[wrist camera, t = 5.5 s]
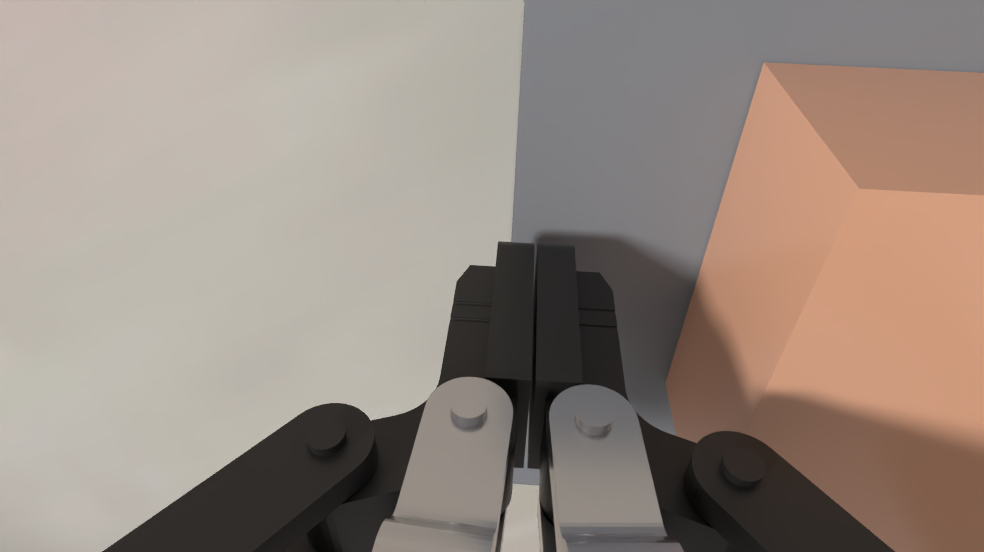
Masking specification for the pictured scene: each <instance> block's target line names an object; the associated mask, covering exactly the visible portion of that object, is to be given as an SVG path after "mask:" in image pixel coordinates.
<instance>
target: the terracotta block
mask: <svg viewBox="0 0 984 552" xmlns="http://www.w3.org/2000/svg"><path fill="white" fill-rule="evenodd" d="M665 383H666V388H667V393H668V399H669V404H670V409H671V414H672V419H673V424H674V429H675V434H676V436H678V437H681V438H684V439H687V440H689V441H692V442H695V443H698V441H699V440H701V439H702V438H703V437H704V436H706V435H708V434H711V433H714V432H719V431H734V432H740V433H743V434H747V435H750V436H752V437H754V438H756V439H758V440H760V441H762V442H763V443H765V444H766V445H768V446H769V447H770V448H772V449H773V450H774V451H775V452H776V453H778V454H779V455H780V456H781V457H782V458H784V459H785V460H786V461H787V462H788V463H789V464H791V465H792V466H793V467H794V468H795V469H797V470H798V471H799V472H800V473H801V474H803V475H804V476H805V477H806V478H807V479H809V480H810V481H811V482H812V483H813V484H815V485H816V486H817V487H818V488H819V489H821V490H822V491H823V492H824V493H825V494H827V495H828V496H829V497H830V498H831V499H833V500H834V501H835V502H836V503H837V504H839V505H840V506H841V507H842V508H843V509H845V510H846V511H847V512H848V513H849V514H851V515H852V516H853V517H854V518H855V519H857V520H858V521H859V522H860V523H861V524H863V525H864V526H865V527H866V528H867V529H869V530H870V531H871V532H872V533H873V534H875V535H876V536H877V537H878V538H879V539H881V540H882V541H883V542H884V543H885V544H887V545H888V546H889V547H890V548H891V549H893V550H894V551H895V552H984V73H978V72H957V71H936V70H915V69H894V68H873V67H851V66H830V65H809V64H788V63H767V62H764V63H763V66H762V69H761V73H760V76H759V79H758V82H757V86H756V89H755V92H754V95H753V99H752V102H751V105H750V108H749V112H748V115H747V118H746V121H745V125H744V128H743V131H742V135H741V138H740V141H739V144H738V148H737V151H736V154H735V157H734V161H733V164H732V167H731V170H730V174H729V177H728V180H727V183H726V187H725V190H724V193H723V196H722V200H721V203H720V206H719V210H718V213H717V216H716V219H715V223H714V226H713V229H712V232H711V236H710V239H709V242H708V245H707V249H706V252H705V255H704V258H703V262H702V265H701V268H700V271H699V275H698V278H697V281H696V285H695V288H694V291H693V294H692V298H691V301H690V304H689V307H688V311H687V314H686V317H685V320H684V324H683V327H682V330H681V333H680V337H679V340H678V343H677V346H676V350H675V353H674V356H673V360H672V363H671V366H670V369H669V373H668V376H667V379H666V382H665Z"/></svg>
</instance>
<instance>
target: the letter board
mask: <svg viewBox="0 0 984 552" xmlns="http://www.w3.org/2000/svg"><path fill="white" fill-rule="evenodd" d="M764 62H767V63H788V64H809V65H830V66H851V67H873V68H894V69H915V70H936V71H957V72H978V73H984V0H525V7H524V25H523V43H522V61H521V79H520V97H519V115H518V133H517V151H516V169H515V187H514V205H513V223H512V241H511V242H518V243H535V250H534V279H535V266H536V254H537V244H538V243H539V244H557V245H574V247H575V260H576V271H583V272H600V274H601V275H602V276H603V278H604V279H605V280H606V282H607V283H608V285H609V286H610V287H611V289H612V290H613V296H614V304H615V314H616V319H617V331H618V335H619V343H620V350H621V358H622V366H623V373H624V381H625V389H626V394H627V397H628V399H629V402H630V404H631V405H632V406H633V408H634V410H635V411H636V412H637V413H638V414H639V415H640V416H641V417H642V418H643V419H644V420H645V421H647V422H648V423H649V424H651V425H652V426H654V427H656V428H658V429H660V430H662V431H664V432H667V433H669V434H672V435H675V436H676V434H675V429H674V424H673V419H672V414H671V409H670V404H669V399H668V393H667V388H666V383H665V382H666V379H667V376H668V373H669V369H670V366H671V363H672V360H673V356H674V353H675V350H676V346H677V343H678V340H679V337H680V333H681V330H682V327H683V324H684V320H685V317H686V314H687V311H688V307H689V304H690V301H691V298H692V294H693V291H694V288H695V285H696V281H697V278H698V275H699V271H700V268H701V265H702V262H703V258H704V255H705V252H706V249H707V245H708V242H709V239H710V236H711V232H712V229H713V226H714V223H715V219H716V216H717V213H718V210H719V206H720V203H721V200H722V196H723V193H724V190H725V187H726V183H727V180H728V177H729V174H730V170H731V167H732V164H733V161H734V157H735V154H736V151H737V148H738V144H739V141H740V138H741V135H742V131H743V128H744V125H745V121H746V118H747V115H748V112H749V108H750V105H751V102H752V99H753V95H754V92H755V89H756V86H757V82H758V79H759V76H760V73H761V69H762V66H763V63H764ZM528 424H529V413H528ZM528 424H527V435H526V446H525V457H524V468H514V470H513V484H527V485H539V484H540V469H530V468H527V462H528Z"/></svg>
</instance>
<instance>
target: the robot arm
mask: <svg viewBox="0 0 984 552" xmlns="http://www.w3.org/2000/svg"><path fill="white" fill-rule="evenodd" d="M534 250H535V243H518V242H500V241H499V242H498V249H497V259H496V267H493V266H475V265H470V266H469V268H468V269H467V270H466V271H465V272H464V274H463V275H462V276H461V277H460V278H459V280H458V281H457V284H456V290H455V295H454V302H453V307H452V312H451V320H450V324H449V329H448V335H447V341H446V346H445V352H444V358H443V364H442V369H441V375H440V380H439V383H438V386H437V388H436V389H435V390H434V391H433V392H432V393H431V395H430V396H429V398H428V399H427V400H426V401H425V402H424V403H423V404H421V405H420V406H418V407H417V408H415V409H413V410H411V411H408V412H406V413H403V414H399V415H395V416H390V417H386V418H381V419H376V420H372V421H370V419H369V417H368V416H367V415H366V414H365V413H364V412H362V411H361V410H360V409H358V408H356V407H354V406H351V405H347V404H341V403H329V404H323V405H319V406H316V407H313V408H311V409H308V410H306V411H305V412H303V413H301V414H300V415H298V416H297V417H295V418H294V419H293V420H291V421H290V422H288V423H287V424H285V425H284V426H282V427H281V428H280V429H278V430H277V431H275V432H274V433H272V434H271V435H270V436H268V437H267V438H265V439H264V440H262V441H261V442H259V443H258V444H257V445H255V446H254V447H252V448H251V449H249V450H248V451H247V452H245V453H244V454H242V455H241V456H239V457H238V458H236V459H235V460H234V461H232V462H231V463H229V464H228V465H226V466H225V467H224V468H222V469H221V470H219V471H218V472H216V473H215V474H213V475H212V476H211V477H209V478H208V479H206V480H205V481H203V482H202V483H200V484H199V485H198V486H196V487H195V488H193V489H192V490H190V491H189V492H188V493H186V494H185V495H183V496H182V497H180V498H179V499H177V500H176V501H175V502H173V503H172V504H170V505H169V506H167V507H166V508H165V509H163V510H162V511H160V512H159V513H157V514H156V515H154V516H153V517H152V518H150V519H149V520H147V521H146V522H144V523H143V524H142V525H140V526H139V527H137V528H136V529H134V530H133V531H131V532H130V533H129V534H127V535H126V536H124V537H123V538H121V539H120V540H119V541H117V542H116V543H114V544H113V545H111V546H110V547H108V548H107V549H106V550H104V551H103V552H501V550H502V543H503V535H504V528H505V520H506V513H507V507H508V505H509V503H510V500H511V495H512V484H513V470H514V468H524V457H525V446H526V435H527V424H528V413H529V424H528V462H527V468H530V469H540V484H539V499H538V508H537V516H538V530H539V545H540V552H895V551H894V550H893V549H891V548H890V547H889V546H888V545H887V544H885V543H884V542H883V541H882V540H881V539H879V538H878V537H877V536H876V535H875V534H873V533H872V532H871V531H870V530H869V529H867V528H866V527H865V526H864V525H863V524H861V523H860V522H859V521H858V520H857V519H855V518H854V517H853V516H852V515H851V514H849V513H848V512H847V511H846V510H845V509H843V508H842V507H841V506H840V505H839V504H837V503H836V502H835V501H834V500H833V499H831V498H830V497H829V496H828V495H827V494H825V493H824V492H823V491H822V490H821V489H819V488H818V487H817V486H816V485H815V484H813V483H812V482H811V481H810V480H809V479H807V478H806V477H805V476H804V475H803V474H801V473H800V472H799V471H798V470H797V469H795V468H794V467H793V466H792V465H791V464H789V463H788V462H787V461H786V460H785V459H784V458H782V457H781V456H780V455H779V454H778V453H776V452H775V451H774V450H773V449H772V448H770V447H769V446H768V445H766V444H765V443H763V442H762V441H760V440H758V439H756V438H754V437H752V436H750V435H747V434H743V433H740V432H734V431H719V432H714V433H711V434H708V435H706V436H704V437H703V438H702V439H701V440H699V441H698V443H695V442H692V441H689V440H687V439H684V438H681V437H678V436H675V435H672V434H669V433H667V432H664V431H662V430H660V429H658V428H656V427H654V426H652V425H651V424H649V423H648V422H647V421H645V420H644V419H643V418H642V417H641V416H640V415H639V414H638V413H637V412H636V411H635V410H634V408H633V406H632V405H631V404H630V402H629V399H628V397H627V394H626V389H625V381H624V373H623V366H622V358H621V350H620V343H619V335H618V331H617V319H616V314H615V304H614V296H613V290H612V289H611V287H610V286H609V285H608V283H607V282H606V280H605V279H604V278H603V276H602V275H601V274H600V272H583V271H576V260H575V247H574V245H557V244H539V243H538V244H537V254H536V266H535V279H534Z"/></svg>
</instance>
